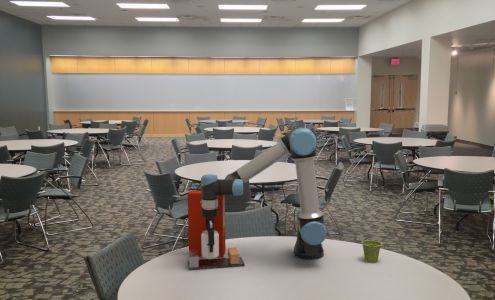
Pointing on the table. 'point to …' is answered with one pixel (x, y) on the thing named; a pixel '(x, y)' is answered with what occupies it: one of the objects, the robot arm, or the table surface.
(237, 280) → the table surface
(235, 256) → the block
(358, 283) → the table surface
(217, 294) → the table surface
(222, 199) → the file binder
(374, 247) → the plant pot
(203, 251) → the beverage can
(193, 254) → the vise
